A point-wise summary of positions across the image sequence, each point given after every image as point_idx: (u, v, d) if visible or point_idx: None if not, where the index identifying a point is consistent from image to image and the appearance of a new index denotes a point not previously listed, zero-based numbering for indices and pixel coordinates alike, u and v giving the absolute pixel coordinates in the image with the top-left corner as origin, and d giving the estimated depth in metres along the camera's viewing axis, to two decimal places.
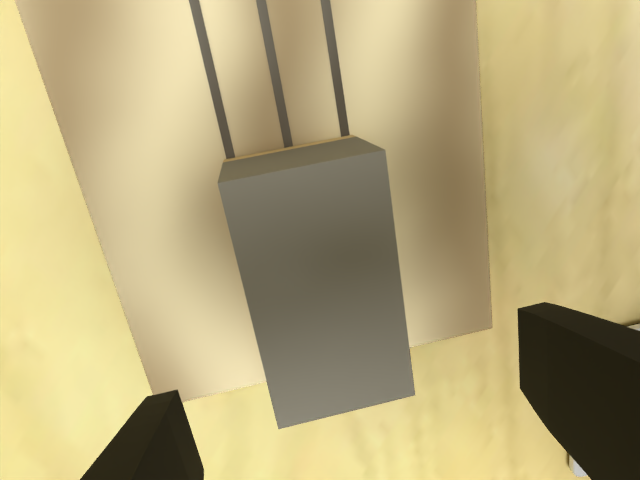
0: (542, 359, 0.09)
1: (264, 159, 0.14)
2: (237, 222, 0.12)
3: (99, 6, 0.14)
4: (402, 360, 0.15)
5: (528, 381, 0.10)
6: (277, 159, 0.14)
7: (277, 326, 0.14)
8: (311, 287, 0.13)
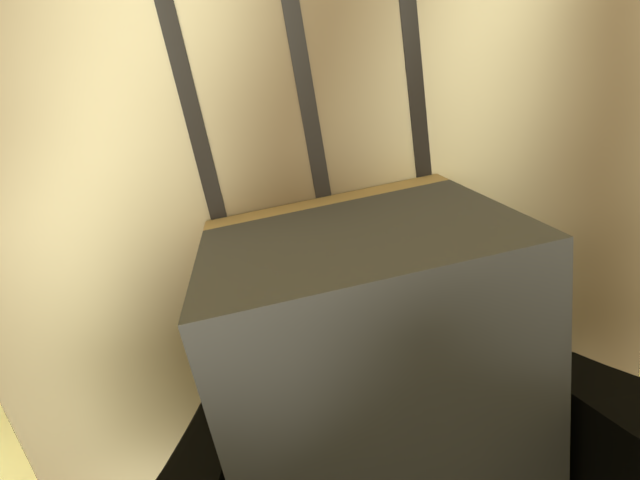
0: None
1: (283, 232, 0.07)
2: (228, 407, 0.05)
3: None
4: None
5: None
6: (311, 237, 0.07)
7: None
8: None
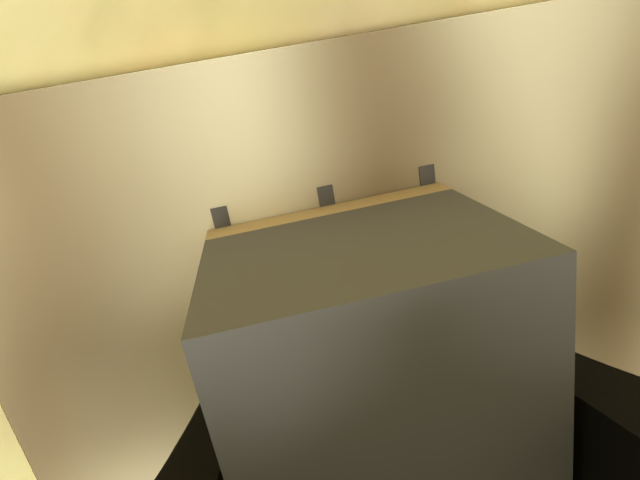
0: None
1: (285, 243, 0.07)
2: (231, 422, 0.05)
3: (90, 307, 0.09)
4: None
5: None
6: (313, 248, 0.07)
7: None
8: None
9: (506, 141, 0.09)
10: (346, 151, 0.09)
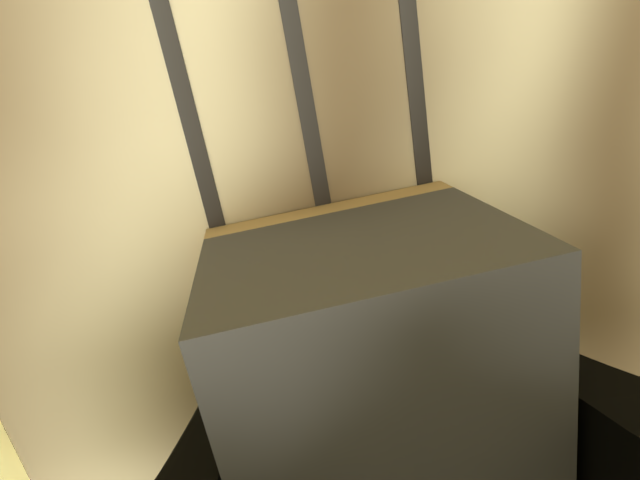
0: None
1: (285, 242, 0.07)
2: (229, 423, 0.05)
3: None
4: None
5: None
6: (313, 247, 0.07)
7: None
8: None
9: None
10: None
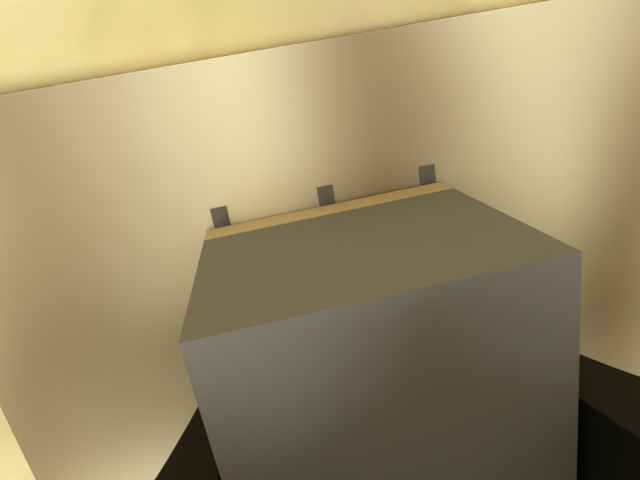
0: None
1: (285, 243, 0.07)
2: (230, 426, 0.05)
3: (90, 307, 0.09)
4: None
5: None
6: (313, 248, 0.07)
7: None
8: None
9: (507, 141, 0.09)
10: (346, 151, 0.09)
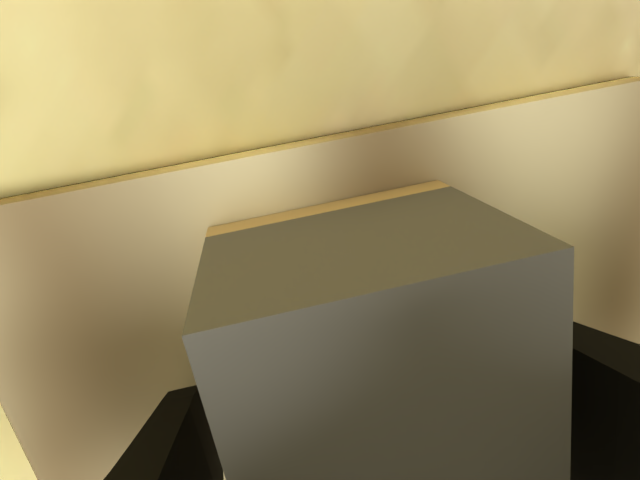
0: None
1: (285, 240, 0.07)
2: (230, 416, 0.05)
3: (118, 381, 0.09)
4: None
5: None
6: (313, 245, 0.07)
7: None
8: None
9: None
10: None
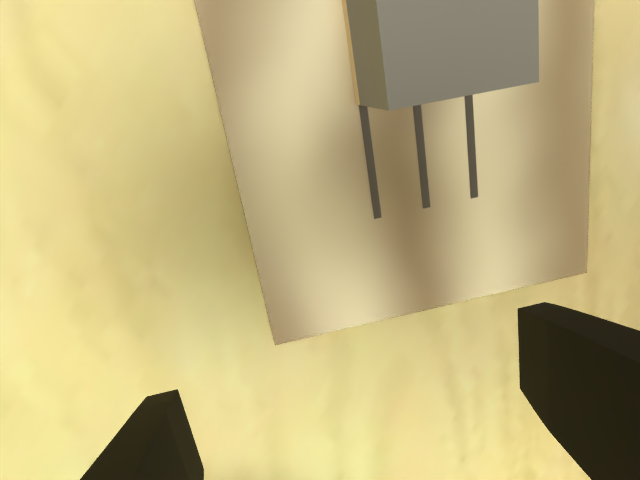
0: (542, 359, 0.09)
1: None
2: None
3: None
4: (529, 30, 0.13)
5: (528, 381, 0.10)
6: None
7: None
8: None
9: None
10: None
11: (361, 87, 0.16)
